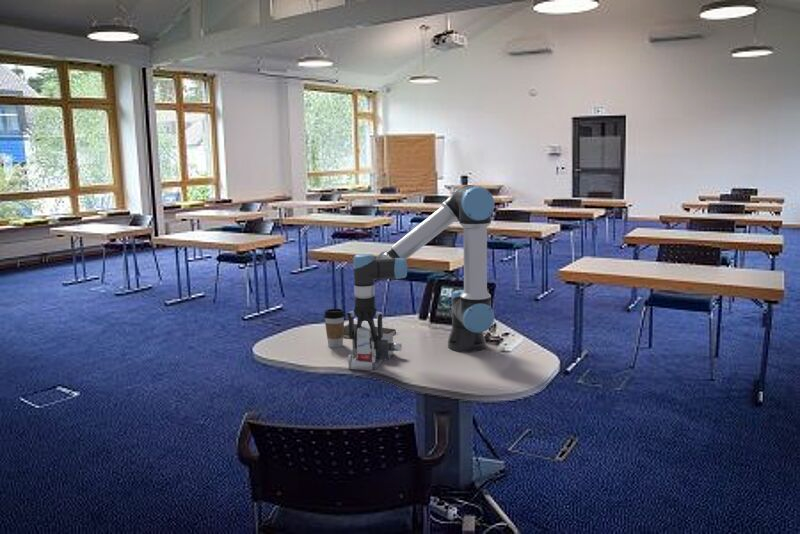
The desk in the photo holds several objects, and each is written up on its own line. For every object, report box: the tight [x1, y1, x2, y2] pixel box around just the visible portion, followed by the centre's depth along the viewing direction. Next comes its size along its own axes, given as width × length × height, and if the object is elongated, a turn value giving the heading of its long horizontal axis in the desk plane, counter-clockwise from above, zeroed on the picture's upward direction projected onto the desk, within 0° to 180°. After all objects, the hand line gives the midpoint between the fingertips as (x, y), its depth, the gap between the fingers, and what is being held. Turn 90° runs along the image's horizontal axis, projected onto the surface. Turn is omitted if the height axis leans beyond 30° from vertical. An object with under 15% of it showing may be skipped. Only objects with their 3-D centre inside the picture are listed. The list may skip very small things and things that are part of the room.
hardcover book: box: [343, 323, 397, 339], centre depth 289 cm, size 16×23×2 cm
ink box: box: [357, 323, 373, 361], centre depth 248 cm, size 9×5×12 cm, turn 168°
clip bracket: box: [347, 354, 384, 371], centre depth 248 cm, size 10×12×5 cm
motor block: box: [351, 333, 403, 361], centre depth 257 cm, size 18×8×10 cm, turn 77°
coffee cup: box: [323, 308, 345, 349], centre depth 272 cm, size 8×8×15 cm
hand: (366, 356), depth 249 cm, fingers closed on ink box, 5 cm apart
